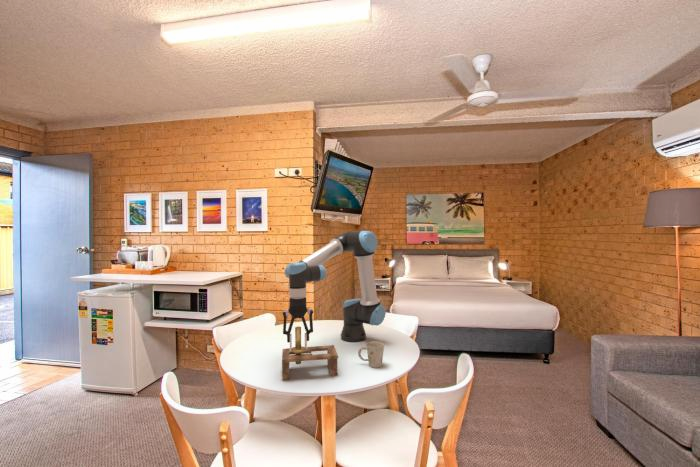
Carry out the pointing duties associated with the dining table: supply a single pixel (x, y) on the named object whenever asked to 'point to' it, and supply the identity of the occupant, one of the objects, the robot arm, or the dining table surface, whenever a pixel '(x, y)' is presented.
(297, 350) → the pin
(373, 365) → the mug
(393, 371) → the dining table surface
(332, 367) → the keyhole shelf
